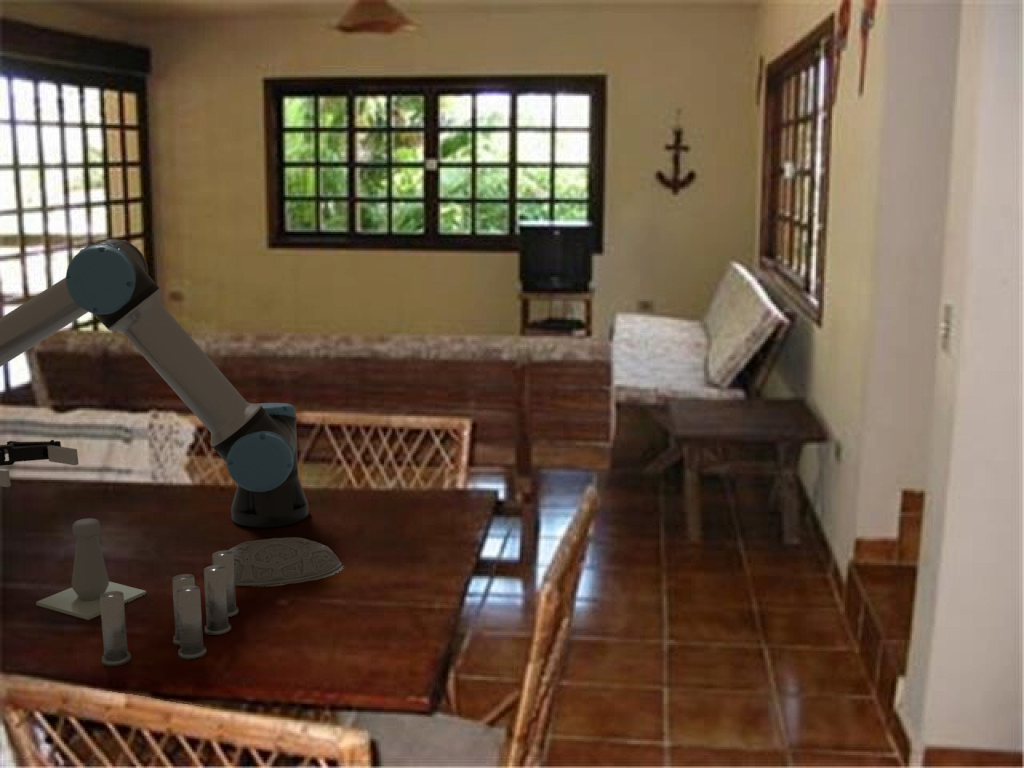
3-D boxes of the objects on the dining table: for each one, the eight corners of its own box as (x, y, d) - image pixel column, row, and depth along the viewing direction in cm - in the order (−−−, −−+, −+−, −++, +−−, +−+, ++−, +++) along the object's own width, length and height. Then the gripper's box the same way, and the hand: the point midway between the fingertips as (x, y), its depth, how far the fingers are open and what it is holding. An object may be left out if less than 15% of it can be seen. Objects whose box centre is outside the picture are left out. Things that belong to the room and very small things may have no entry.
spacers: (237, 607, 185) (234, 548, 183) (253, 650, 169) (250, 586, 167) (99, 626, 178) (94, 565, 176) (102, 673, 162) (97, 606, 160)
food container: (201, 559, 206) (201, 525, 204) (340, 554, 212) (342, 521, 210) (200, 600, 191) (200, 564, 189) (350, 593, 198) (352, 558, 196)
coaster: (95, 581, 196) (95, 577, 196) (146, 594, 190) (146, 590, 190) (36, 605, 186) (36, 601, 186) (88, 620, 180) (88, 616, 180)
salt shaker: (77, 605, 184) (71, 528, 181) (68, 594, 189) (62, 519, 186) (114, 597, 187) (109, 522, 185) (104, 586, 192) (99, 512, 189)
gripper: (23, 456, 212) (104, 469, 202) (-104, 494, 190) (-21, 511, 180) (18, 417, 210) (99, 428, 200) (-111, 450, 189) (-27, 465, 179)
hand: (43, 467), depth 190 cm, fingers open, 13 cm apart
